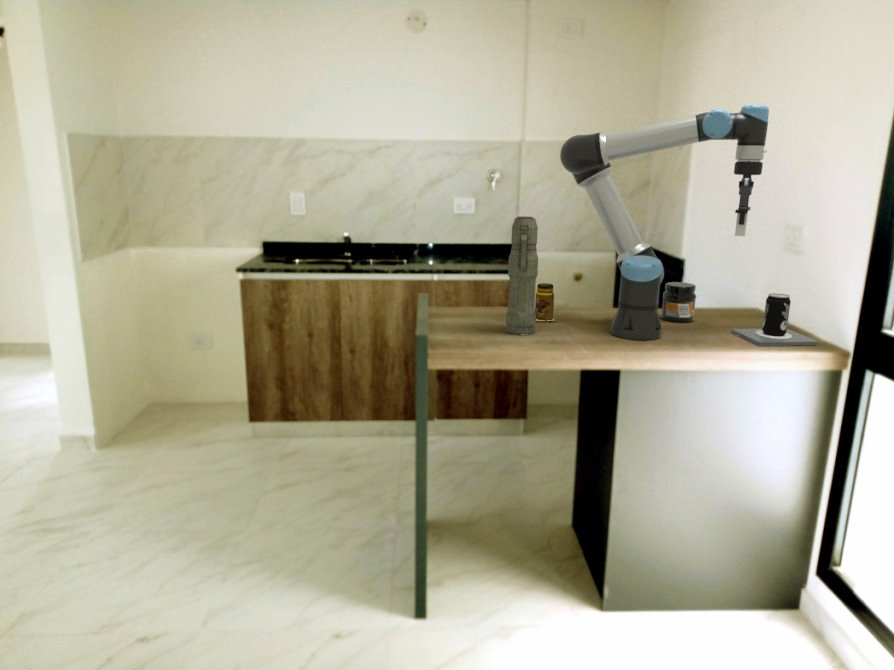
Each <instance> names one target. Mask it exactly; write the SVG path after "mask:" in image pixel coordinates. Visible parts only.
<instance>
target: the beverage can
mask: <svg viewBox="0 0 894 670" xmlns="http://www.w3.org/2000/svg"><path fill="white" fill-rule="evenodd" d="M791 302H792V301H791V298H790V295H789V294H784V293H776V292H774V293H772V292H771V293H768V296H767V297H766V300H765V306H764V312H763V313H764V314H763V320H762V321H763V322H762V328H761V329H762V331H763V332H764V334H766V335H770V336H784V334H786V330H787V329H788V324H789V323H788V321H789V317H790V310H791V309H790V308H791Z"/></svg>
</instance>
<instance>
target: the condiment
mask: <svg viewBox="0 0 894 670" xmlns="http://www.w3.org/2000/svg"><path fill="white" fill-rule="evenodd" d="M554 304H555V293H554V284H552V283H542V282H540V283H538V284H537V289H536V291H535V305H534V310H535V314H536V319H538V320H545V321H547V320H552V319H553V316H554V309H555V307H554Z"/></svg>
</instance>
